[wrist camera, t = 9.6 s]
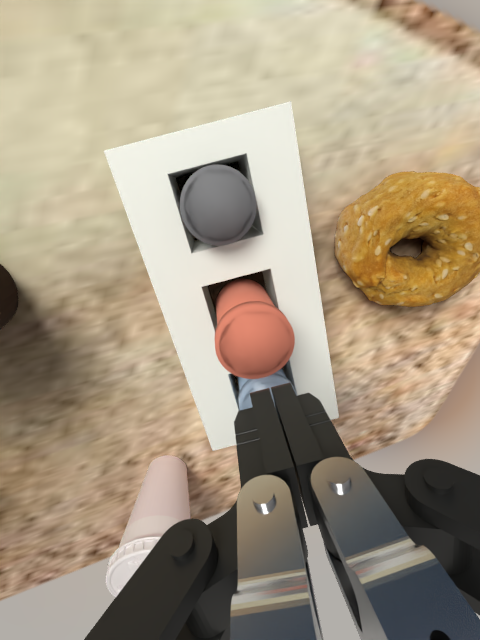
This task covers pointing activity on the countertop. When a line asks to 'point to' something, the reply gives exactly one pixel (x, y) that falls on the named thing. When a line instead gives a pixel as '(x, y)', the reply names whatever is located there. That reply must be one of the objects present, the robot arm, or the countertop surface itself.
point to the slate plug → (258, 387)
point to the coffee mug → (7, 297)
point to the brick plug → (251, 331)
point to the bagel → (412, 222)
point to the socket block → (228, 251)
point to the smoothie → (150, 518)
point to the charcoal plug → (218, 205)
